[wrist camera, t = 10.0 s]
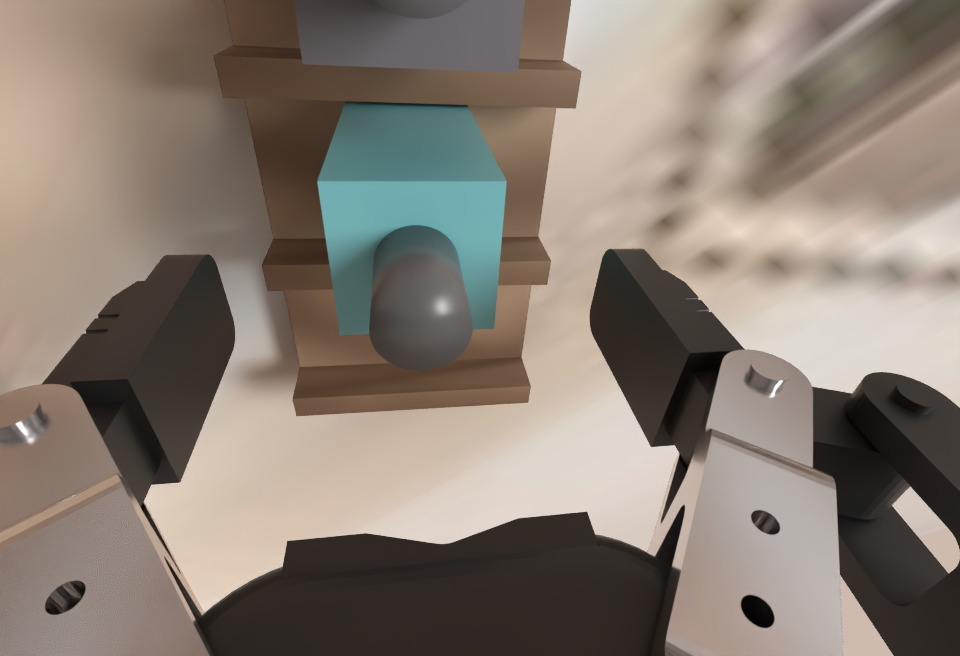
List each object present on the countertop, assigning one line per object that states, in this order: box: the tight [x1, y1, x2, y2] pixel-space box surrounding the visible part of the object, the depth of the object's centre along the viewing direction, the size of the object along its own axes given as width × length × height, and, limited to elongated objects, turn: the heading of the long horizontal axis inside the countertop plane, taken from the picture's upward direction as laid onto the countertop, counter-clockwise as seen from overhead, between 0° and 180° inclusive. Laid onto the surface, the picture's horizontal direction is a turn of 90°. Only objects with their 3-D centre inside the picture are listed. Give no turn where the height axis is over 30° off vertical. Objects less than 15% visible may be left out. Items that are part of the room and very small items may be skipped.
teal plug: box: [317, 101, 507, 370], centre depth 13 cm, size 4×4×10 cm
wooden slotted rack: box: [214, 0, 582, 416], centre depth 17 cm, size 20×10×3 cm, turn 177°
